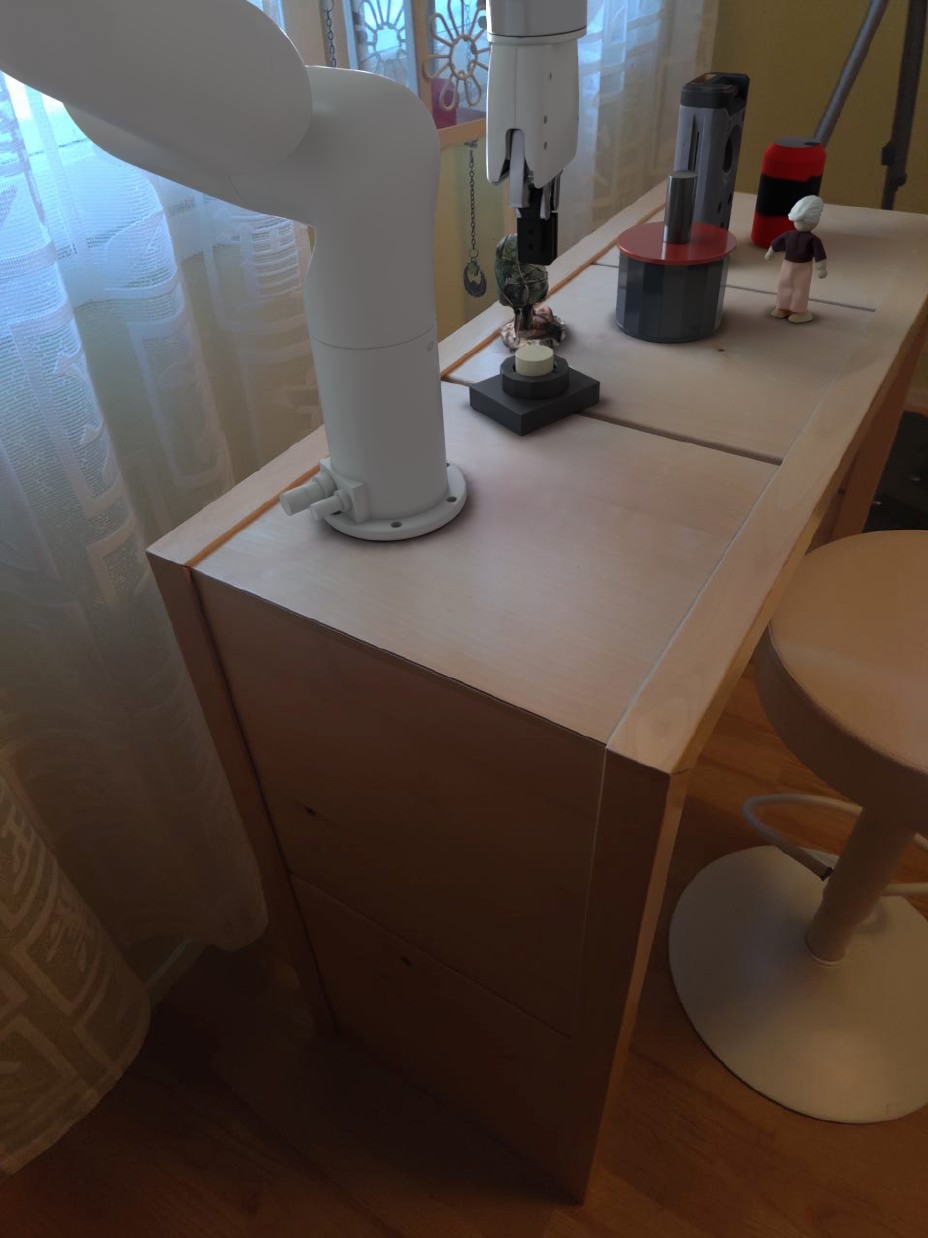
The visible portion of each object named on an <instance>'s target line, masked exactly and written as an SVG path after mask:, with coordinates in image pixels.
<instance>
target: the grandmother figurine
mask: <svg viewBox="0 0 928 1238" xmlns="http://www.w3.org/2000/svg"><path fill="white" fill-rule="evenodd" d="M824 203H825V202H824V201H823V199H822V198H821V197H820V196H819V197H817V196H815V195H811V196H807V197H804V198H802V199H801V200H799V201H798V202H797V203H796V204H795V206H794V207H793V208H792V210H791V212H790V214H788V216H789V219H790V220H791V221H793V222H794V225H795V227H796V229H797V230H791V231H788V232H785V233H783V234H781V235H780V236H778V237H777V238H776V239H774V240H773V241H772V242H771V247H770V248H769V249H768V251H767V252H766V254H765V255H764V259H765V260H766V261H767V262H772V261H773V260H774V259H775V257H776V255H778V253H784V252H785V254H784V257H783V260H782V261H783V262H782V266H781V269H780V273H779V278H778V283H777V293H776V299H775V307H776V308H775V309H774V310H773V311H772V312H771V316H772V317H774V318H778V319H782V318H786V317H788V316H789V317H788V318H787V319H788V321H789V322H790V323H791V322H792V323H794V324H799V323H805V322H810V321H813V313H812V312H811V311H810V310H809V309H808V306H809V298H810V289H811V283H812V278H813V271H814V270H813V269H814V267H813V266H814V265H813V264H814V263H815V266H816V267H815V268H816V270H817V274H816V277H817V278H818V279H820V280H822V279H825V278H827V277H828V275H829V274H828V273H829V272H828V270H827V266H828V263H827V258H828V256H827V253H826V250H825V247H824V243H823V241H822V239H821V238H820V237H819V236H817V235H816V234H815V233H813V230H815V229H816V228H817V227H818V225H819V223H820V219H821V216H822V213H823V212H824V205H825V204H824ZM810 231H811V232H810Z"/></svg>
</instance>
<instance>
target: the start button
mask: <svg viewBox="0 0 928 1238" xmlns="http://www.w3.org/2000/svg"><path fill="white" fill-rule="evenodd" d="M554 354H555V353H554V349H553V350H552V349H551V348H549V347H546V346H542V345H528V346H524V347H521V348H520V349H518V350H515V355H516V372H517V373H519V374H521V375H525V376H532V377H533V376H543V375H546V374H549V373H551V372H552V371H553V357H554Z"/></svg>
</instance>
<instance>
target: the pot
mask: <svg viewBox="0 0 928 1238" xmlns="http://www.w3.org/2000/svg"><path fill="white" fill-rule="evenodd" d="M730 260H731V254H730V255H729V256H727V257H725V258H722V259H720V260H717V261H713V262H708V263H703V264H695V265H662V264H654V263H648V262H644V261H640V260H636V259H633V258H631V257H628V256H627V255H625V254H623V253H622V252H621V251H620V250H619V259H618V274H617V287H616V289H617V290H616V305H615V306H616V307H615V318H614V319H615V321H614V322H615V325H616V326H617V328H618V329H619V330H620V331H621V332H622V333H624V334H626V335H627V336H630V337H632V338H635V339H638V340H642V341H647V342H654V343H666V344H669V343H670V344H672V343H673V344H676V343H686V342H687V343H688V342H693V341H698V340H701V339H704V338H707V337H708V336H711V335H712V334H714V333H715V332H716V331H717V330H718V329H719V327H720V324H721V321H722V315H723V308H724V302H725V294H726V289H727V281H728V274H729V267H730V262H731V261H730Z"/></svg>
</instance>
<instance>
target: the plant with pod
mask: <svg viewBox="0 0 928 1238" xmlns="http://www.w3.org/2000/svg"><path fill="white" fill-rule="evenodd" d="M492 241H496V239H495V238H492ZM494 256H495V257H494V258H495V259H494V267H493V271H494V276H495V280H496V292H497V295H498V302H499V304H500V305H501V306H503V307H509V308H511V309H512V310H513V314H514V315H513V316H514V317H513V318H512V319H511V321H510V322H508V323H507V324H504V325H503V326H501V327H500V330H499V329H498V330H497V332H498V334H499V336H500V339H501V341H502V343H503V345H505V347H506V348H508V349H511V350H514V351H517V350H518V349H520V348H521V347H524V346H528V345H542V346H546V347H549V348H551V349H552V350H553V351H554V350H555V349H556V348H559V347H560V345H561V343H562V342H563V340H565V337H567V336H568V335H566V332H565V331H566V329H565V327H566V326H567V325H566V324H565V321H564V320H562V319H561V317H558V316H557V315H554V312H553V310H552V309H551V307H550V306H549V305H541V306H539V308H538V309H534V306H536V304H537V303H543V302H545V301H546V299H547V297H548V293H549V287H550V285H549V271H547V268H546V266H545V265H534V264H524V263H520V262H519V261H518V258H517V232H515V233H509V234H507V235H506V236H504V237H503V238H501V240H500V241H499V242H498V243H497V244H496V248H495V255H494Z"/></svg>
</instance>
